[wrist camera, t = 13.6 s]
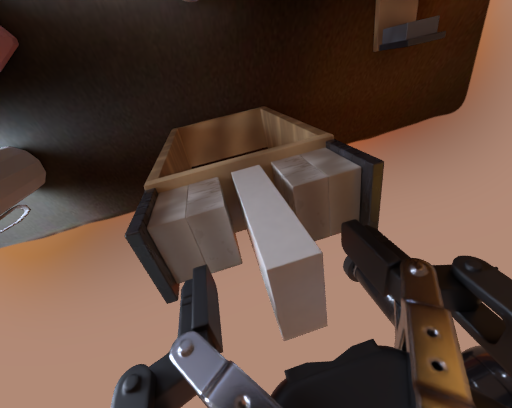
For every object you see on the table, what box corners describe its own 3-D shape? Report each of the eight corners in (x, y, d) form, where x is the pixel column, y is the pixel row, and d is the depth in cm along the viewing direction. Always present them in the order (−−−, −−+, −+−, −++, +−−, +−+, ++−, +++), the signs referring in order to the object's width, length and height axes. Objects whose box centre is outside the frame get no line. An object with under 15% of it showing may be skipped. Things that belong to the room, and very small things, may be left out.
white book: (259, 164, 19) (322, 252, 9) (270, 216, 21) (327, 326, 12) (230, 172, 18) (265, 270, 9) (245, 223, 21) (283, 341, 12)
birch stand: (264, 105, 39) (328, 132, 20) (270, 144, 42) (330, 198, 23) (171, 128, 37) (145, 181, 18) (186, 166, 40) (176, 243, 22)
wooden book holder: (328, 132, 20) (385, 156, 14) (330, 198, 23) (377, 240, 17) (145, 181, 18) (120, 231, 12) (176, 243, 22) (168, 307, 16)
